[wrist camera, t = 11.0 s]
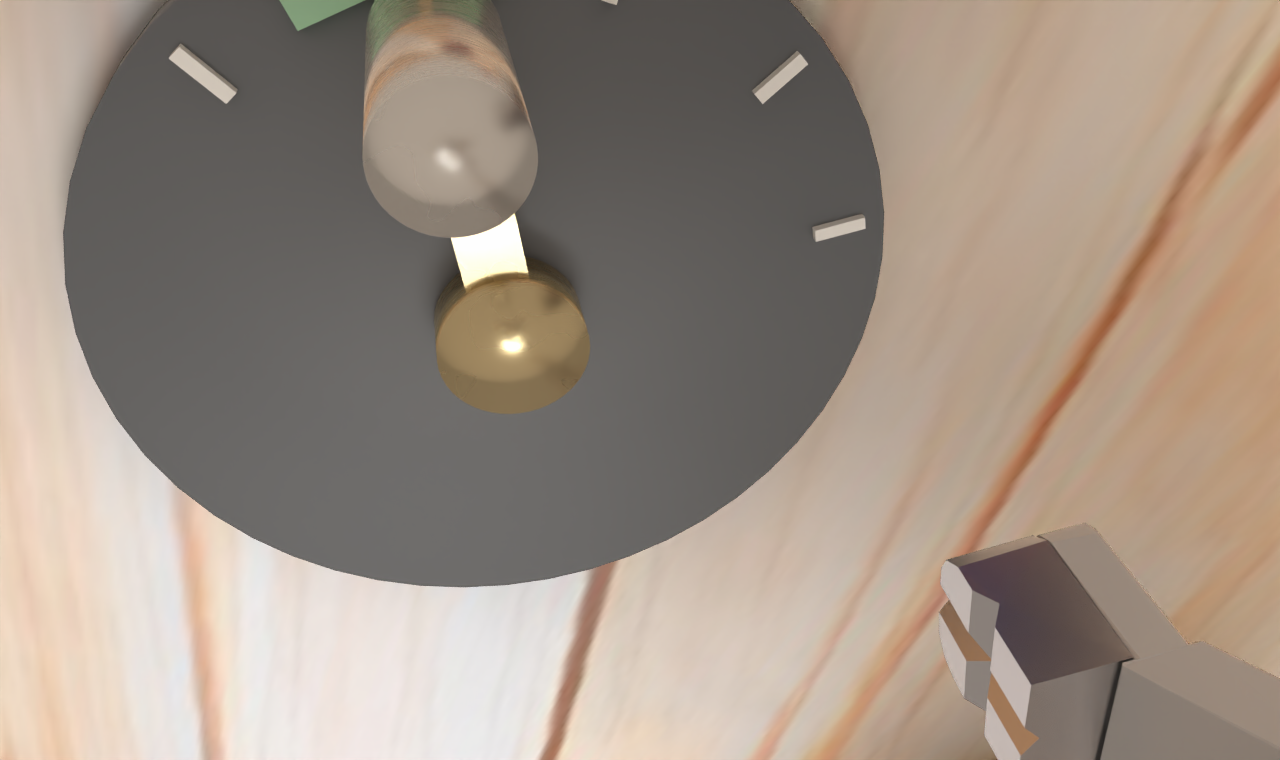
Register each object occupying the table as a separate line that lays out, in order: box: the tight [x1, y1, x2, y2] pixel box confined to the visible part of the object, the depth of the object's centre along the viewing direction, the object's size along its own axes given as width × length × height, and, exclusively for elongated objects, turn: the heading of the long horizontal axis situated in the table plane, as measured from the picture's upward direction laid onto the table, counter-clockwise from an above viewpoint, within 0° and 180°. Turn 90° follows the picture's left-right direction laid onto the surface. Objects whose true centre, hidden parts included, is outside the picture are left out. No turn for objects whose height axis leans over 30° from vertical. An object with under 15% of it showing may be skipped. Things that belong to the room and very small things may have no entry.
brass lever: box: [362, 0, 590, 414], centre depth 25 cm, size 14×4×8 cm, turn 8°
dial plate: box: [63, 0, 884, 587], centre depth 31 cm, size 24×24×2 cm
